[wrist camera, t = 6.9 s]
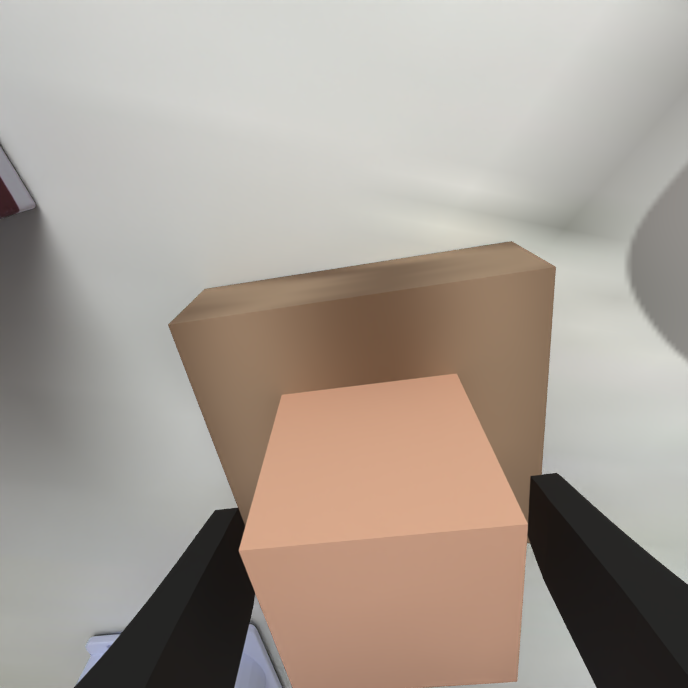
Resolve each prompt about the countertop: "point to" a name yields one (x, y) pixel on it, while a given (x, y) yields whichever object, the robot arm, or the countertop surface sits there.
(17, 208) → the supplement box
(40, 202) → the countertop surface
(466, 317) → the walnut base
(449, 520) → the terracotta cube
